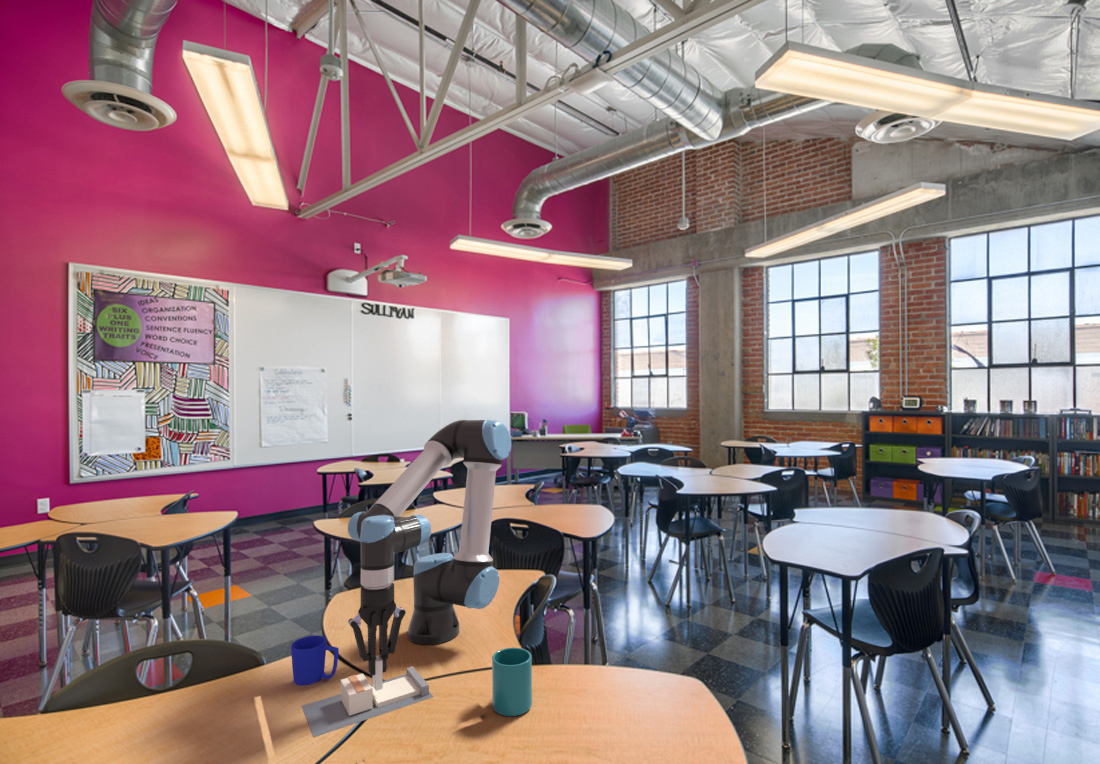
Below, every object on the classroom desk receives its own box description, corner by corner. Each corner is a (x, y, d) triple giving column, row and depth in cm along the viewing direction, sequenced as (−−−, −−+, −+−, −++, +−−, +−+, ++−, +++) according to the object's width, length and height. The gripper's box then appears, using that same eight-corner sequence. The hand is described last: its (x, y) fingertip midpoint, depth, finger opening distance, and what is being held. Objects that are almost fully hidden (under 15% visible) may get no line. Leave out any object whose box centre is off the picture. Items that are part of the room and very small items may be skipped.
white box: (362, 692, 126) (362, 672, 127) (372, 708, 120) (372, 687, 120) (340, 699, 124) (340, 678, 124) (349, 715, 117) (349, 694, 117)
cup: (535, 689, 129) (535, 642, 130) (529, 718, 117) (528, 666, 118) (498, 688, 130) (498, 641, 131) (488, 717, 118) (488, 665, 119)
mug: (327, 694, 128) (327, 652, 129) (283, 690, 131) (283, 648, 131) (347, 677, 136) (347, 637, 137) (305, 673, 139) (305, 634, 139)
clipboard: (412, 676, 136) (412, 663, 136) (433, 701, 125) (433, 687, 125) (301, 711, 122) (301, 695, 122) (313, 743, 110) (313, 726, 110)
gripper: (399, 574, 132) (399, 672, 131) (344, 585, 125) (344, 689, 124) (410, 583, 126) (410, 685, 125) (352, 594, 118) (352, 703, 118)
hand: (377, 687), depth 124 cm, fingers closed
